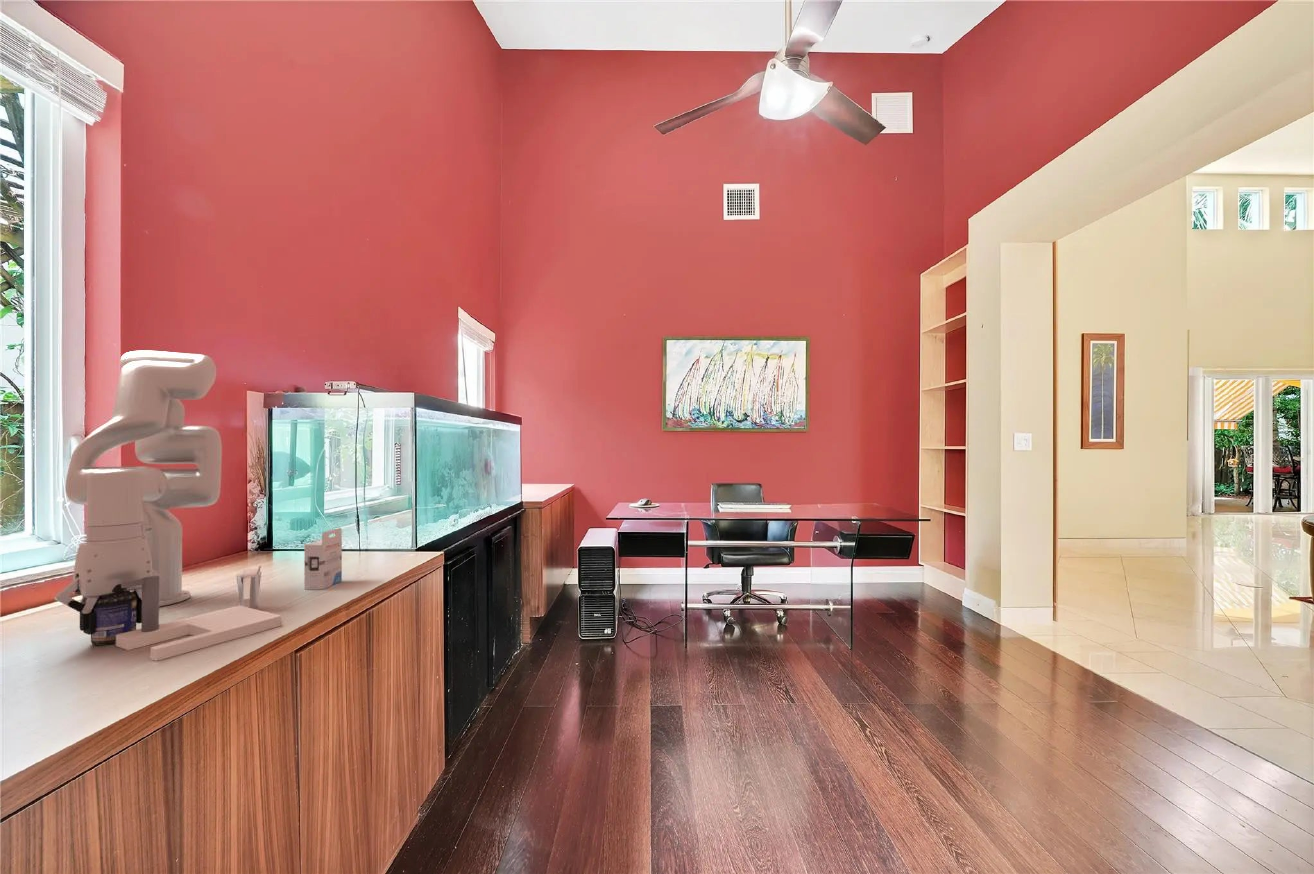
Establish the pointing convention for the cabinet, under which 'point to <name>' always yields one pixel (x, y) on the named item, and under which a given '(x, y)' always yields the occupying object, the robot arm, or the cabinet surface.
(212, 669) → the cabinet surface
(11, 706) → the cabinet surface
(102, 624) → the pill bottle
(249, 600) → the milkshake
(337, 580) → the ink box
